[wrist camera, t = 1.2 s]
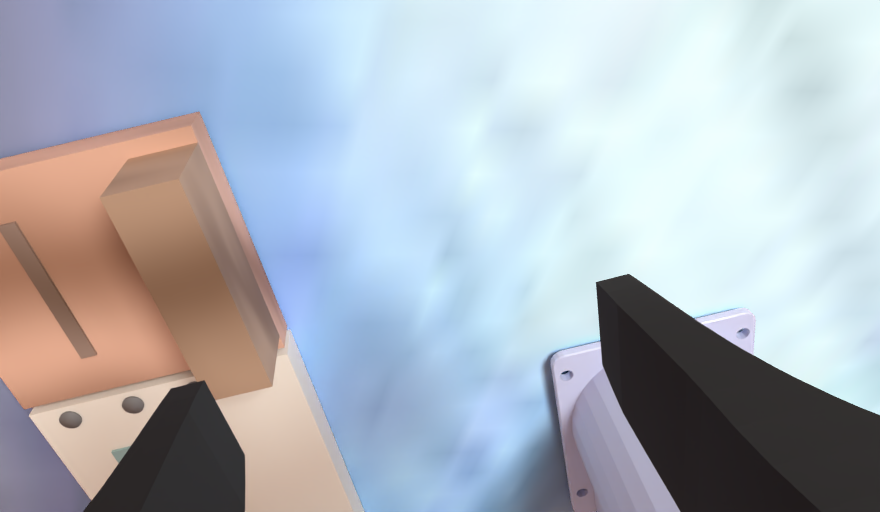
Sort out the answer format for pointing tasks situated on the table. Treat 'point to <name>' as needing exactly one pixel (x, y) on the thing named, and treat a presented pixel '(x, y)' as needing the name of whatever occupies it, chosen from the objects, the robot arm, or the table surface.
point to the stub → (130, 268)
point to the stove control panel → (251, 420)
